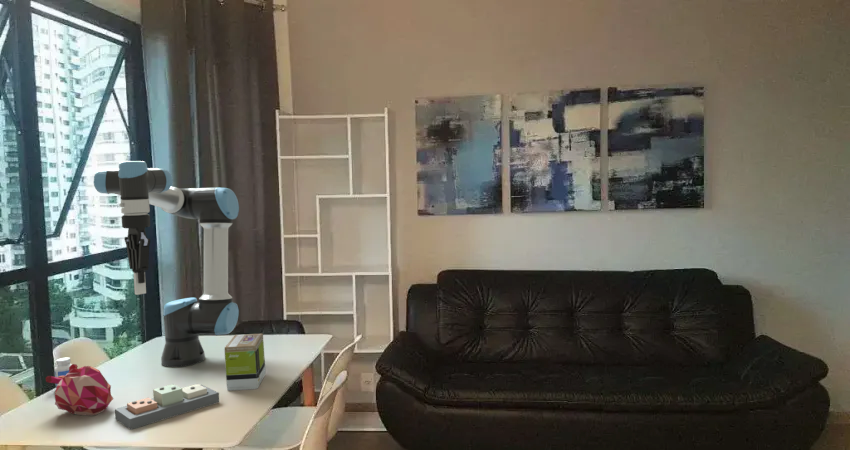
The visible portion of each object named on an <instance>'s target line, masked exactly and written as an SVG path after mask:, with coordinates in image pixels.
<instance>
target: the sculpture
mask: <svg viewBox="0 0 850 450" xmlns="http://www.w3.org/2000/svg"><path fill="white" fill-rule="evenodd" d="M71 364H72V363H71ZM45 382H46V383H49V384H50V383H51V384H54V385H56V384H58V385H57V387H56V386H55V388H56V389H55V392H54V400H55V402H54V405H55V406H56V407H57V409H59V410H63V411H66V412H68V413H70V414H72V415H74V414H77V415H78V416H97V415H98V414H101V413H102V412H104V411H105V410H106V409H107V408H108V407H109V405H110V403H111V402H112V401H113V400H114V397H113V396H112V391H111V388H112V385H111V384H109V382H108V381H107V379H106V378H105V376H104V375H103V374H102V372H101V371H100V370H99V369H97V368H95V367H94V366H91V365H90V366H89V365H84V366H82V367H79V368H78V365H77V364H75V363H73V364H72V365H71V366H70V367H69V372H68V373H67V374H66V375H65V376H64V375H63V376H58V377H55V376H52V375H47V376H46V377H45ZM77 415H76V416H77Z"/></svg>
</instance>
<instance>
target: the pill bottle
mask: <svg viewBox="0 0 850 450" xmlns="http://www.w3.org/2000/svg"><path fill="white" fill-rule="evenodd" d="M55 362H56V363H55V365H56V366H55V367H54V377H58V376H63V375H64V376H65V375H66V374H67V373H68V372H69V367H70V366H71V365H72V362H71V357H70V356H69V357H66V356H65V357H61V358H57V359H56V360H55ZM57 385H58V384H55V388H56V387H57Z"/></svg>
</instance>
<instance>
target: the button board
mask: <svg viewBox="0 0 850 450" xmlns="http://www.w3.org/2000/svg"><path fill="white" fill-rule="evenodd" d="M200 385H201V386H203V387H205V388H207V394H204V395H201V396H197V397H194V398H190V399H185V398H183V401H180V402H177V403H173V404H170V405H167V406H163V407H161V406H159V405H157V408H156V409H153V410H150V411H146V412H143V413H139V414H136V415H134V414H132V413H131V412H129V411H128V410H127V405H124V406H123V405H122V406H121V407H117V408H114V415H115V416H114V417H115V418H114V419H115V420H116V421H117V422H119V423H120V424H121V425H123V426H125V427H126V428H128V429H129V430H134V429H138V428H141V427H145V426H147V425H151V424H154V423H157V422H160V421H163V420H167V419H170V418H173V417H176V416H180V415H183V414H186V413H188V412H192V411H195V410H199V409H202V408H206V407H208V406H213V405H215V404H218V403H220V392H219V391H216V390H214V389H212V388H210V387H208V386H205V385H204V384H200ZM151 399H152V400H154V397H151Z"/></svg>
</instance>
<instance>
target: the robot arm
mask: <svg viewBox="0 0 850 450" xmlns="http://www.w3.org/2000/svg"><path fill="white" fill-rule="evenodd" d="M173 181H174V180H173V176H172V174H171V173H170V171H169V170H167V169H165V168H161V167H155V168H154V167H150V168H149V167H148V165H147V163H146V161H143V160H142V161H141V160H129V161H128V160H127V161H126V160H124V161H121V162H119V164H118V168H113V169H112V168H106V169H100V170H97V171H96V172H95V174H94V176H93V186H94V188H95V190H96V191H97V192H98V193H100V194H106V195H110V194H113V195H118V196H119V197H120V203H118V204H119V207H120V211H121V214H123V215H122V216H121V227H122V228H124V229H127V230H128V232H127V236H125V237H124V242H125V245H126V252H127V257H128V258H127V259H128V264H129V265H128V266H129V269H130V270H131V271H132V273H133V286H134V287H133V288H134V295H136V296H137V295H143V294H147V287H146V286H147V285H146V271H148V270H149V266H150V265H149V261H150V259H149V258H150V246H151V245H150V244H151V238H147V234H146V233H147V232H146V228H149V227H150V226H151V215H150V214H148V213H150V212H151V209H150V205H152V206H155V207H157V208H160V209H161V210H162V211H164V212H165V213H167V214H170V215H173V216H176V217H181V218H184V219H189V220H190V219H191V220H199V221H198V222H199V226H201V227H202V228H203V294H202V295H200V297H198V299H197V297H185V298H181V299H175V300H172V301H169V302H166V303H165V304H164V306H163V315H162V317H163V322H164V323H163V326H164V347H163V351H162V353H161V359H160V363H161V365H162V366H164V367H169V368H170V367H171V368H176V367H178V368H179V367H186V366H187V367H188V366H192V365H196V364H198V363H201V362H203V361H204V360H205V359H206V355H205V350H204V348H203V345H202V343H201V340H200V335H216V336H219V335H228V334H230V333H231V332H232V331H234V329H235V327H236V325H237V323H238V319H239V313H240V311H239V307H238V304H237V303H236V302H234V301H233V296H232V295H231V294H229V228H230V227H231V226H232V225H233V220H236V219H237V217H238V216H239V212H240V205H239V201H238V197H237V196H236V193H235V192H234V190H232V189H231V188H227V187H200V188H199V187H191V188H190V187H189V188H188V187H187V188H179V187H176V186H173Z"/></svg>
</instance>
